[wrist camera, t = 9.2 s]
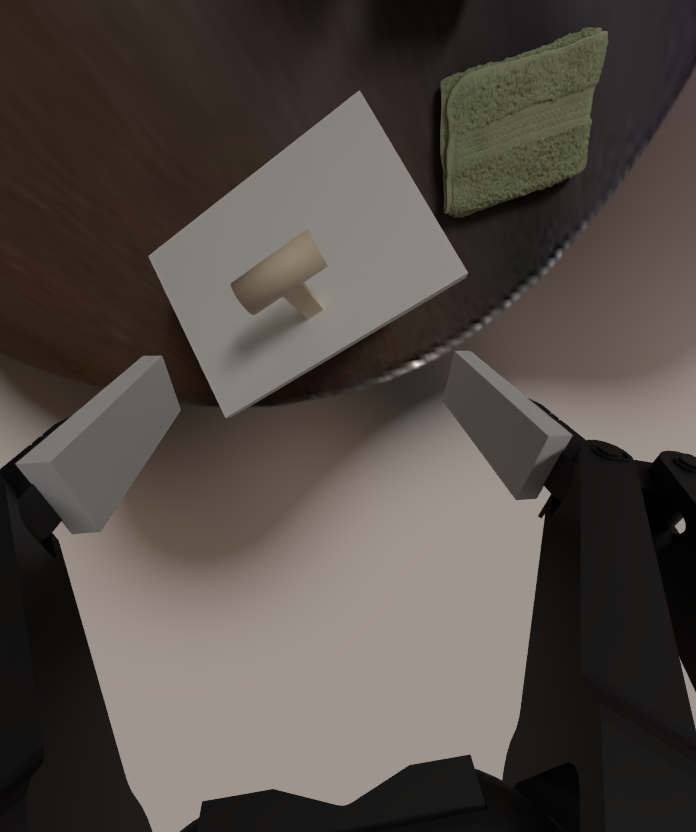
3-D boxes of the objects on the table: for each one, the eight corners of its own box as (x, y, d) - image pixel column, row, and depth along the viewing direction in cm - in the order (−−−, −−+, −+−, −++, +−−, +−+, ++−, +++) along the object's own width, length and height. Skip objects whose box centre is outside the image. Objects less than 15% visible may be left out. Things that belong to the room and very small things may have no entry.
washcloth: (430, 82, 31) (442, 70, 29) (596, 26, 31) (623, 8, 28) (439, 224, 39) (449, 225, 36) (572, 182, 38) (592, 179, 35)
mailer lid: (155, 260, 30) (56, 201, 22) (361, 100, 26) (336, -53, 17) (230, 417, 29) (155, 419, 20) (466, 277, 24) (495, 204, 16)
